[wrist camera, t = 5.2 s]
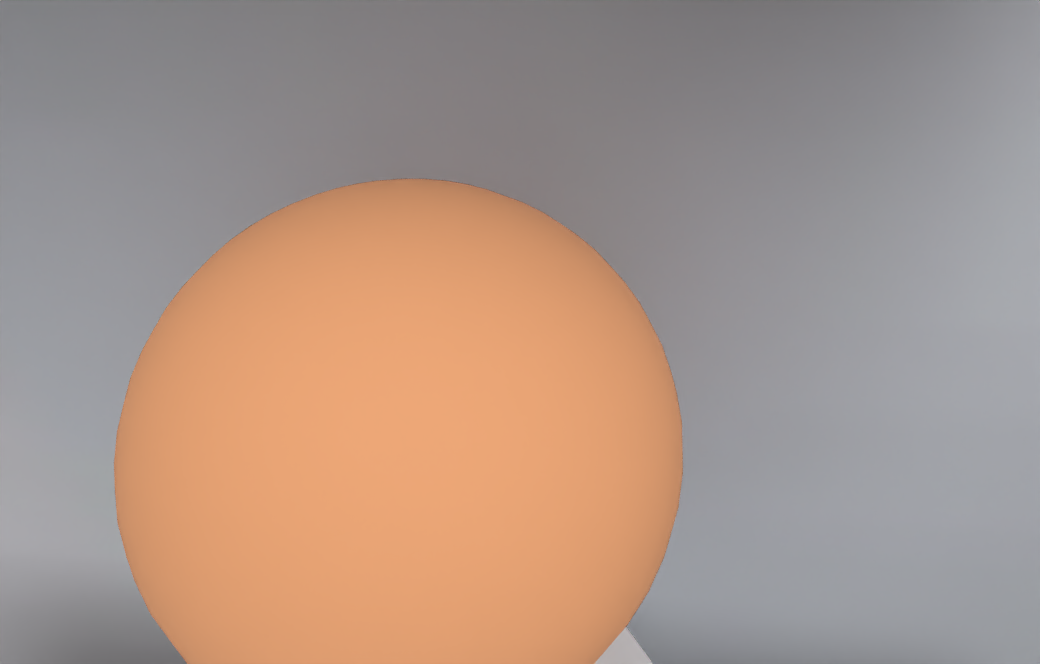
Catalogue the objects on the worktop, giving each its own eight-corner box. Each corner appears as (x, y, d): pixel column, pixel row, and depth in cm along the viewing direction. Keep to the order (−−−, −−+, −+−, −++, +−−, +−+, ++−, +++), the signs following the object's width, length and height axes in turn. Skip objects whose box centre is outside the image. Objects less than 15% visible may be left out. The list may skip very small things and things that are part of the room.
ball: (485, 331, 11) (455, 26, 7) (722, 557, 8) (927, 275, 4) (197, 510, 9) (-120, 222, 5) (384, 908, 6) (3, 1143, 2)
